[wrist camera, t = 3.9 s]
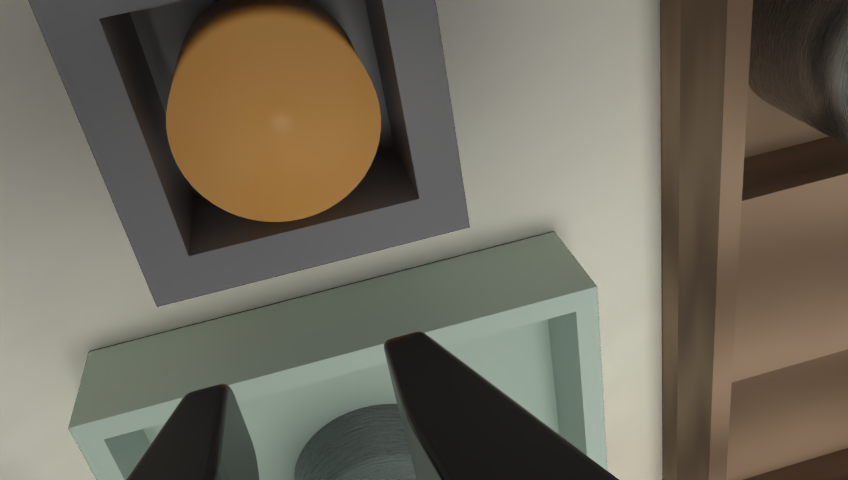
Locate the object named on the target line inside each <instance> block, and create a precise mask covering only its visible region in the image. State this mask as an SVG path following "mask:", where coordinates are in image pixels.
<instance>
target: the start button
mask: <svg viewBox="0 0 848 480" xmlns="http://www.w3.org/2000/svg"><path fill="white" fill-rule="evenodd" d="M166 129H167V136H168V141H169V145H170V149H171V152H172V154H173V157H174V159H175V161H176V164H177V166H178V167H179V169H180V170H181V172H182V174H183V175H184V177H185V178H186V179H187V180H188V182H189V183H190V184H191V185H192V187H193V188H194V189H195V190H197V191H198V192H199V193H200V194H201V195H202V196H203V197H204V198H206V199H207V200H208V201H210V202H211V203H212V204H214V205H216V206H218V207H219V208H221V209H223V210H225V211H227V212H229V213H232V214H234V215H237V216H240V217H243V218H247V219H251V220H257V221H264V222H285V221H293V220H298V219H303V218H306V217H310V216H313V215H316V214H318V213H320V212H322V211H325V210H327V209H329V208H330V207H332V206H334V205H335V204H337V203H338V202H340V201H341V200H342V199H344V198H345V197H346V196H347V195H348V194H349V193H350V192H352V191H353V190H354V189H355V188H356V187H357V185H358V184H359V183H360V181H361V180H362V179H363V178H364V176H365V175H366V173H367V171H368V170H369V168H370V166H371V164H372V162H373V159H374V157H375V155H376V151H377V148H378V144H379V139H380V132H381V113H380V106H379V101H378V98H377V94H376V91H375V88H374V86H373V84H372V81H371V79H370V77H369V75H368V73H367V71H366V70H365V68H364V66H363V64H362V62H361V60H360V58H359V56H358V54H357V52H356V51H355V49H354V47H353V45H352V43H351V41H350V39H349V38H348V36H347V34H346V33H345V31H344V29H343V28H342V27H341V25H340V24H339V23H338V22H337V20H336V19H335V18H334V17H333V16H332V15H330V14H329V13H328V12H327V11H326V10H325V9H323V8H322V7H321V6H319V5H318V4H316V3H315V2H313V1H311V0H220V1H218V2H216V3H215V4H213V5H212V6H210V7H209V8H208V9H207V10H206V11H204V12H203V13H202V14H201V15H200V16H199V17H198V18H197V20H196V21H195V22H194V23H193V25H192V26H191V28H190V29H189V31H188V32H187V34H186V36H185V38H184V40H183V42H182V45H181V48H180V51H179V55H178V59H177V63H176V68H175V72H174V76H173V81H172V85H171V90H170V94H169V98H168V104H167V111H166Z"/></svg>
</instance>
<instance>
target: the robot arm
mask: <svg viewBox="0 0 848 480" xmlns="http://www.w3.org/2000/svg"><path fill="white" fill-rule="evenodd" d="M384 351H385V356H386V360H387V364H388V368H389V372H390V377H391V381H392V385H393V389H394V393H395V397H396V402H397V406H398V410H399V414H400V417H401V421H402V425H403V429H404V433H405V436H406V440H407V444H408V448H409V451H410V455H411V459H412V463H413V466H414V470H415V474H416V478H417V480H619V479H617V478H616V477H615V476H613V475H612V474H611V473H609V472H608V471H607V470H605V469H604V468H603V467H601V466H600V465H599V464H597V463H596V462H595V461H593V460H592V459H591V458H589V457H588V456H587V455H585V454H584V453H583V452H581V451H580V450H579V449H578V448H576V447H575V446H574V445H572V444H571V443H570V442H568V441H567V440H566V439H564V438H563V437H562V436H560V435H559V434H558V433H556V432H555V431H554V430H552V429H551V428H550V427H548V426H547V425H546V424H544V423H543V422H542V421H540V420H539V419H538V418H536V417H535V416H534V415H533V414H531V413H530V412H529V411H527V410H526V409H525V408H523V407H522V406H521V405H519V404H518V403H517V402H515V401H514V400H513V399H511V398H510V397H509V396H507V395H506V394H505V393H503V392H502V391H501V390H499V389H498V388H497V387H495V386H494V385H493V384H491V383H490V382H489V381H488V380H486V379H485V378H484V377H482V376H481V375H480V374H478V373H477V372H476V371H474V370H473V369H472V368H470V367H469V366H468V365H466V364H465V363H464V362H462V361H461V360H460V359H458V358H457V357H456V356H454V355H453V354H452V353H450V352H449V351H448V350H446V349H445V348H444V347H443V346H441V345H440V344H439V343H437V342H436V341H435V340H433V339H432V338H431V337H429V336H428V335H427V334H425V333H424V332H420V331H418V332H413V333H409V334H406V335H402V336H398V337H394V338H391V339H388V340H386V342H385V343H384ZM126 480H259V472H258V465H257V459H256V454H255V450H254V446H253V443H252V440H251V437H250V434H249V432H248V429H247V427H246V424H245V421H244V419H243V416H242V414H241V411H240V408H239V406H238V403H237V400H236V398H235V395H234V393H233V391H232V389H231V388H230V387H229V386H228V385H227V384H224V383H223V384H218V385H214V386H210V387H206V388H203V389H199V390H195V391H192V392H189V393H187V394H186V395H185V396H184V397H183V398H182V400H181V401H180V403H179V404H178V405H177V407H176V408H175V410H174V411H173V413H172V414H171V416H170V417H169V418H168V420H167V421H166V423H165V424H164V426H163V427H162V428H161V430H160V431H159V433H158V434H157V436H156V437H155V439H154V440H153V441H152V443H151V444H150V446H149V447H148V449H147V450H146V451H145V453H144V454H143V456H142V457H141V459H140V460H139V462H138V463H137V464H136V466H135V467H134V469H133V470H132V472H131V473H130V474H129V476H128V477H127V479H126Z"/></svg>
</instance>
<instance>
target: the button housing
mask: <svg viewBox="0 0 848 480" xmlns="http://www.w3.org/2000/svg"><path fill="white" fill-rule="evenodd" d="M28 1H29V3H30V5H31V8H32V10H33V13H34V15H35V17H36V20H37V22H38V24H39V27H40V29H41V32H42V34H43V36H44V39H45V41H46V44H47V46H48V48H49V51H50V53H51V55H52V58H53V60H54V63H55V65H56V67H57V70H58V72H59V75H60V77H61V79H62V82H63V84H64V86H65V89H66V91H67V94H68V96H69V98H70V101H71V103H72V106H73V108H74V110H75V113H76V115H77V117H78V120H79V122H80V125H81V127H82V129H83V132H84V134H85V137H86V139H87V141H88V144H89V146H90V148H91V151H92V153H93V156H94V158H95V160H96V163H97V165H98V167H99V170H100V172H101V175H102V177H103V179H104V182H105V184H106V187H107V189H108V191H109V194H110V196H111V198H112V201H113V203H114V206H115V208H116V210H117V213H118V215H119V218H120V220H121V222H122V225H123V227H124V229H125V232H126V234H127V237H128V239H129V241H130V244H131V246H132V249H133V251H134V253H135V256H136V258H137V260H138V263H139V265H140V268H141V270H142V272H143V275H144V277H145V280H146V282H147V284H148V287H149V289H150V291H151V294H152V296H153V299H154V301H155V303H156V306H157V307H159V306H163V305H167V304H171V303H174V302H178V301H182V300H186V299H190V298H194V297H198V296H202V295H206V294H210V293H214V292H218V291H222V290H225V289H229V288H233V287H237V286H241V285H245V284H249V283H253V282H257V281H261V280H265V279H269V278H273V277H277V276H280V275H284V274H288V273H292V272H296V271H300V270H304V269H308V268H312V267H316V266H320V265H324V264H328V263H331V262H335V261H339V260H343V259H347V258H351V257H355V256H359V255H363V254H367V253H371V252H375V251H379V250H383V249H386V248H390V247H394V246H398V245H402V244H406V243H410V242H414V241H418V240H422V239H426V238H430V237H434V236H437V235H441V234H445V233H449V232H453V231H457V230H461V229H465V228H469V227H470V225H469V218H468V212H467V205H466V198H465V192H464V185H463V179H462V172H461V166H460V159H459V153H458V146H457V139H456V133H455V126H454V120H453V113H452V107H451V100H450V94H449V87H448V80H447V74H446V67H445V61H444V54H443V48H442V41H441V34H440V28H439V21H438V15H437V8H436V2H435V0H311V1H313V2H315V3H316V4H318V5H319V6H321V7H322V8H323V9H325V10H326V11H327V12H328V13H329V14H330V15H332V16H333V17H334V18H335V19H336V20H337V22H338V23H339V24H340V25H341V27H342V28H343V29H344V31H345V33H346V34H347V36H348V38H349V39H350V41H351V43H352V45H353V47H354V49H355V51H356V52H357V54H358V56H359V58H360V60H361V62H362V64H363V66H364V68H365V70H366V71H367V73H368V75H369V77H370V79H371V81H372V84H373V86H374V88H375V91H376V94H377V98H378V101H379V106H380V113H381V132H380V139H379V144H378V148H377V151H376V155H375V157H374V159H373V162H372V164H371V166H370V168H369V170H368V171H367V173H366V175H365V176H364V178H363V179H362V180H361V181H360V183H359V184H358V185H357V187H356V188H355V189H354V190H353V191H352V192H350V193H349V194H348V195H347V196H346V197H345V198H344V199H342V200H341V201H340V202H338V203H337V204H335V205H334V206H332V207H330V208H329V209H327V210H325V211H322V212H320V213H318V214H316V215H313V216H310V217H306V218H303V219H298V220H293V221H285V222H264V221H257V220H251V219H247V218H243V217H240V216H237V215H234V214H232V213H229V212H227V211H225V210H223V209H221V208H219V207H218V206H216V205H214V204H212V203H211V202H210V201H208V200H207V199H206V198H204V197H203V196H202V195H201V194H200V193H199V192H198V191H197V190H195V189H194V188H193V187H192V185H191V184H190V183H189V182H188V180H187V179H186V178H185V177H184V175H183V174H182V172H181V170H180V169H179V167H178V166H177V164H176V161H175V159H174V157H173V154H172V152H171V149H170V145H169V141H168V136H167V129H166V111H167V104H168V98H169V94H170V90H171V85H172V81H173V76H174V72H175V68H176V63H177V59H178V55H179V51H180V48H181V45H182V42H183V40H184V38H185V36H186V34H187V32H188V31H189V29H190V28H191V26H192V25H193V23H194V22H195V21H196V20H197V18H198V17H199V16H200V15H201V14H202V13H203V12H204V11H206V10H207V9H208V8H209V7H210V6H212V5H213V4H215V3H216V2H218V1H220V0H28Z"/></svg>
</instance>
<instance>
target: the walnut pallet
mask: <svg viewBox="0 0 848 480" xmlns="http://www.w3.org/2000/svg"><path fill="white" fill-rule="evenodd" d="M752 10H753V0H661V119H662V350H663V480H848V146H846V145H844V144H843V143H841V142H839V141H837V140H835V139H833V138H831V137H830V136H828V135H826V134H824V133H822V132H820V131H818V130H816V129H815V128H813V127H811V126H809V125H807V124H805V123H803V122H801V121H800V120H798V119H796V118H794V117H792V116H790V115H788V114H787V113H785V112H783V111H781V110H779V109H777V108H775V107H773V106H772V105H770V104H768V103H766V102H765V101H764V100H762V99H761V98H759V97H758V96H757V95H756V94H755V93H754V92H753V90H752V89H751V88H750V86H749V85H748V82H749V64H750V46H751V28H752Z"/></svg>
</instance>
